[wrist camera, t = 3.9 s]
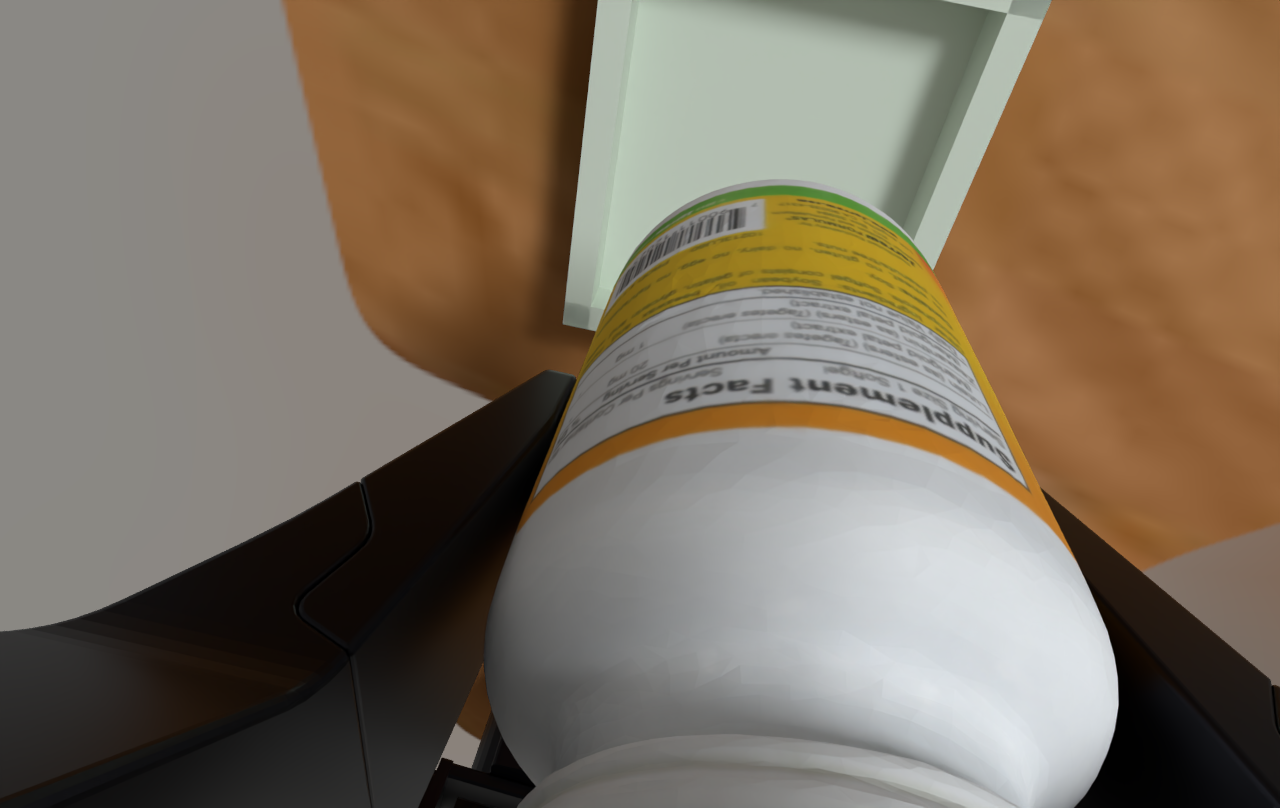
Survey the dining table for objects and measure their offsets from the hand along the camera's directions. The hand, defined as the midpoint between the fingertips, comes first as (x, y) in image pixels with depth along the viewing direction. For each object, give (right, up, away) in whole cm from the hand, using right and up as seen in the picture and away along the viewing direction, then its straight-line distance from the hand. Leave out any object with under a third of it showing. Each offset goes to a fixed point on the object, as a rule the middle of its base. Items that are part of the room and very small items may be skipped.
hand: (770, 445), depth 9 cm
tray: (+2, +7, +11) cm, 13 cm away
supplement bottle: (0, +2, +3) cm, 3 cm away
